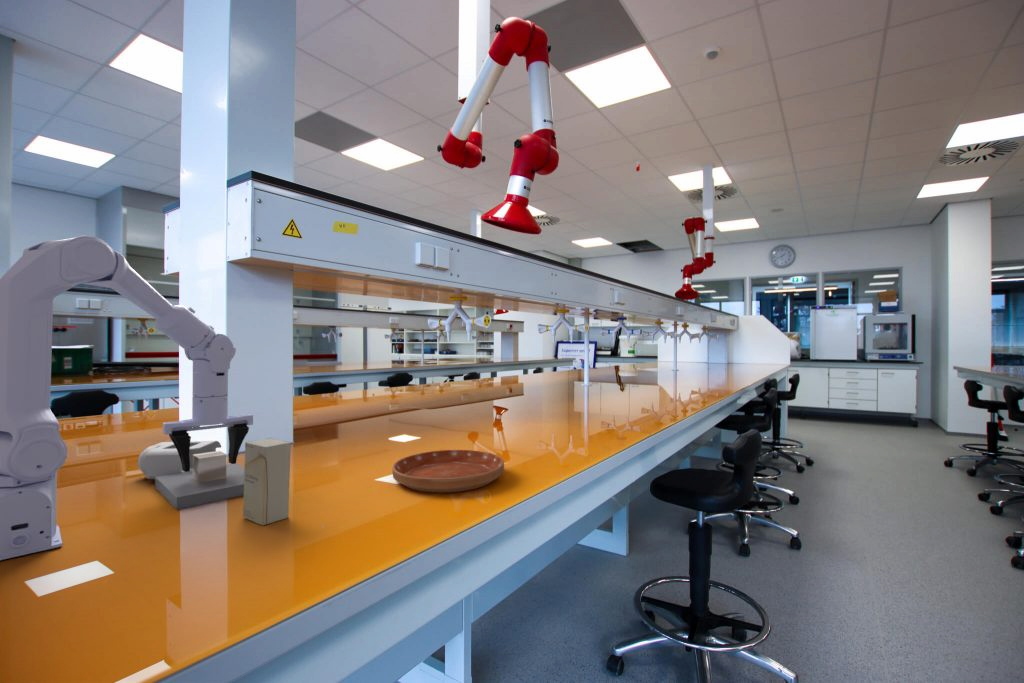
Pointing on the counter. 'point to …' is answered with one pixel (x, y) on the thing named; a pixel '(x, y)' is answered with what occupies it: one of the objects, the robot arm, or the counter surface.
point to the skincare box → (266, 480)
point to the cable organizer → (170, 457)
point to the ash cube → (209, 466)
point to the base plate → (200, 487)
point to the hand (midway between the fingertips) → (209, 466)
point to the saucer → (448, 470)
